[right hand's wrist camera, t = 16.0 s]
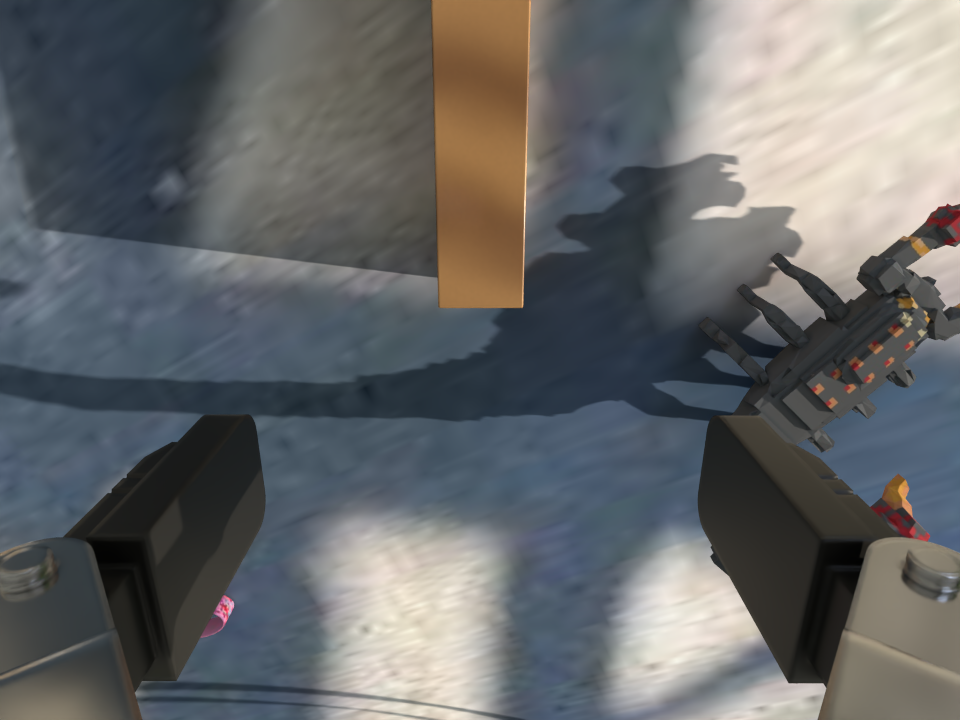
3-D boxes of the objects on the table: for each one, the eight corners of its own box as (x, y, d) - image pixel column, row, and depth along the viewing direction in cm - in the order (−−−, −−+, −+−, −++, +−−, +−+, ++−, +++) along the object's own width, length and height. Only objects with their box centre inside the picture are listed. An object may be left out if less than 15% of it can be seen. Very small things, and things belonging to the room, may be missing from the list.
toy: (604, 411, 46) (679, 578, 29) (912, 128, 39) (1249, 128, 22) (721, 515, 49) (850, 722, 32) (1025, 270, 42) (1395, 365, 25)
